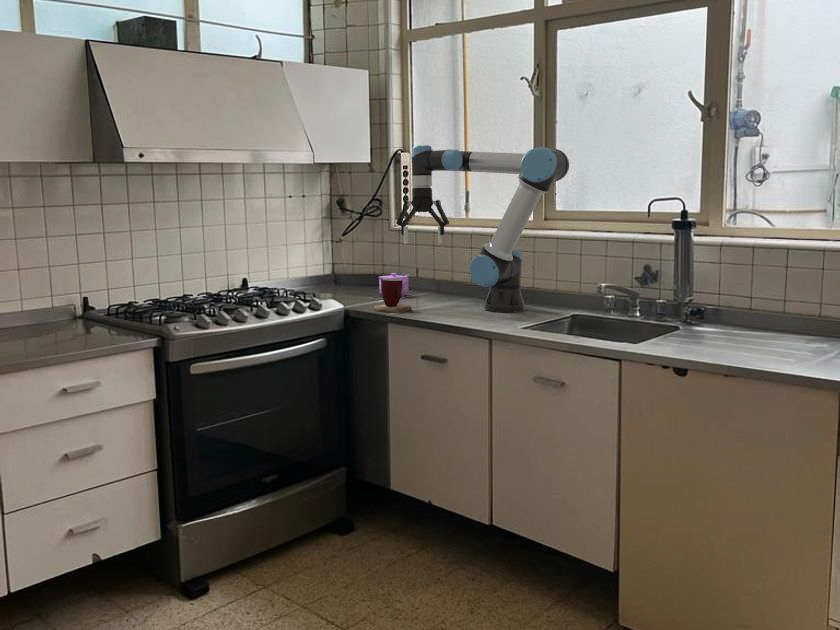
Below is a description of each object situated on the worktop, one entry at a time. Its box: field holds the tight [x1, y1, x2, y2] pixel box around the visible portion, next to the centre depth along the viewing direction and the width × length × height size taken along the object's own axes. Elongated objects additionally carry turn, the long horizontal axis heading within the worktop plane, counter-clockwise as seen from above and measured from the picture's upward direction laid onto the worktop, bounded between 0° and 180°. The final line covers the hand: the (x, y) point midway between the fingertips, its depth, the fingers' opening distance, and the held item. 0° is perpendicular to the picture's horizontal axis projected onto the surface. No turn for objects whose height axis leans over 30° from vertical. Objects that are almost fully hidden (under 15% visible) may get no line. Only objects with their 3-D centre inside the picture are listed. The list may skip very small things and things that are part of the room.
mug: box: [381, 278, 403, 307], centre depth 323 cm, size 11×8×10 cm
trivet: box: [373, 303, 412, 314], centre depth 324 cm, size 14×14×1 cm
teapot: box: [377, 272, 410, 298], centre depth 361 cm, size 18×13×10 cm
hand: (422, 243), depth 328 cm, fingers open, 13 cm apart
